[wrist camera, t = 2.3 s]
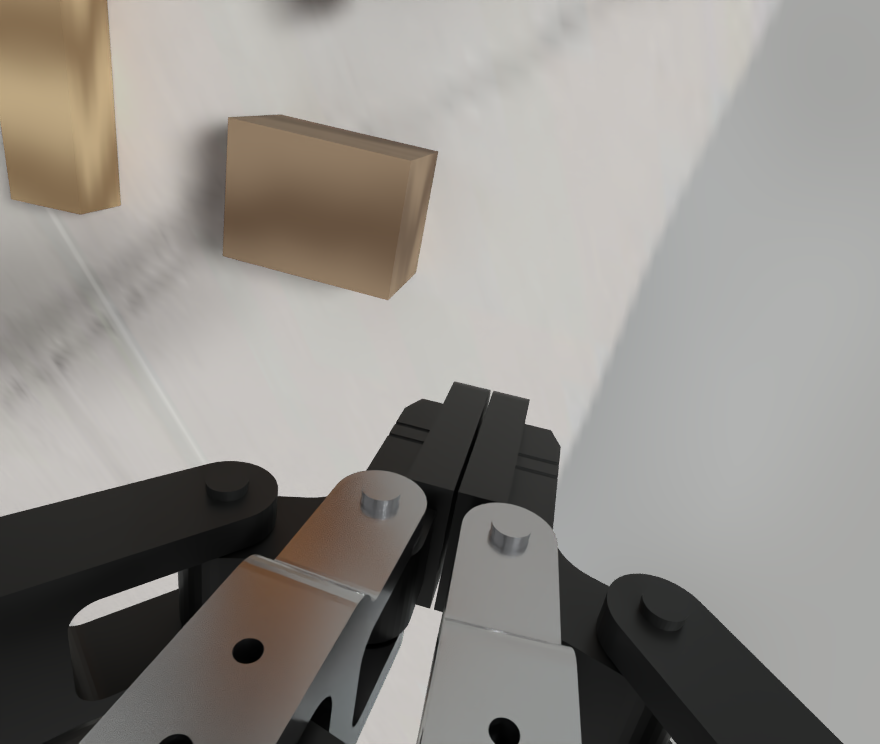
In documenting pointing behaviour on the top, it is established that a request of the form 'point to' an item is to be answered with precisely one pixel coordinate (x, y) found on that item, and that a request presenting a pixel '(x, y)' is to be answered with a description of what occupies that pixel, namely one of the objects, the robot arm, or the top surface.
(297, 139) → the walnut block
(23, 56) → the oak board
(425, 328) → the top surface
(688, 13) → the top surface
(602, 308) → the top surface
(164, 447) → the top surface
